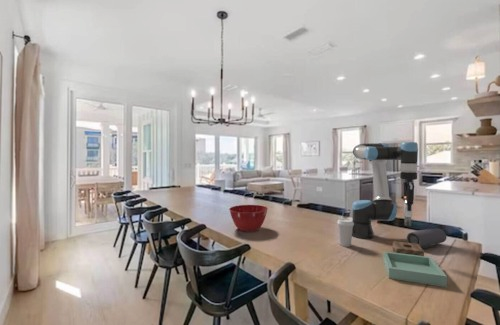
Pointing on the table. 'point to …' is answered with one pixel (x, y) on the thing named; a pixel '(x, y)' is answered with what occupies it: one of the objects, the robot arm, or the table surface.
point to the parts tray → (414, 269)
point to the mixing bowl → (248, 216)
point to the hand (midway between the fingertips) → (407, 215)
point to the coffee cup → (345, 231)
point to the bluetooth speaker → (427, 237)
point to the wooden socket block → (407, 248)
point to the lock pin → (407, 219)
